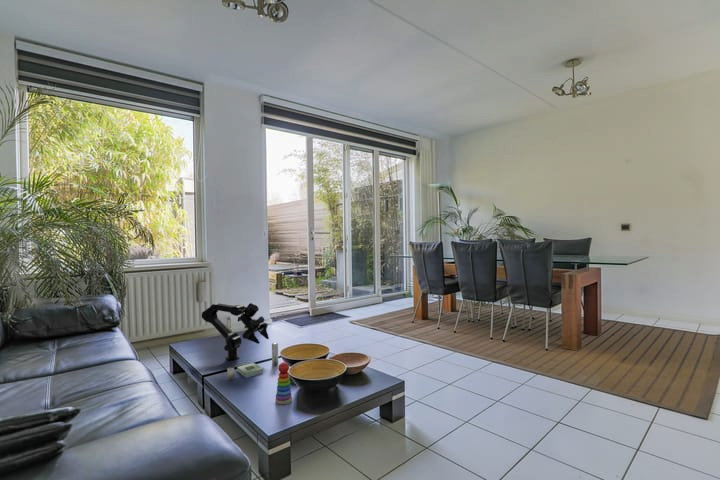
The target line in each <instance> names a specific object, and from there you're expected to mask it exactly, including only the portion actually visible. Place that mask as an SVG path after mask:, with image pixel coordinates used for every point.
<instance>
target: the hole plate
mask: <svg viewBox="0 0 720 480" xmlns="http://www.w3.org/2000/svg"><path fill="white" fill-rule="evenodd" d="M236 369H237V372H238V373H239V374H241V375H242V376H243V377H245V379H248V378H250V377H251V378H252V377H254V376H257V375H260V374H263V373H264V368H262V367H261V366H260V365H258V364H256V363H255V362H251V363H248V364H244V365H240V366H237V368H236Z"/></svg>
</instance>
